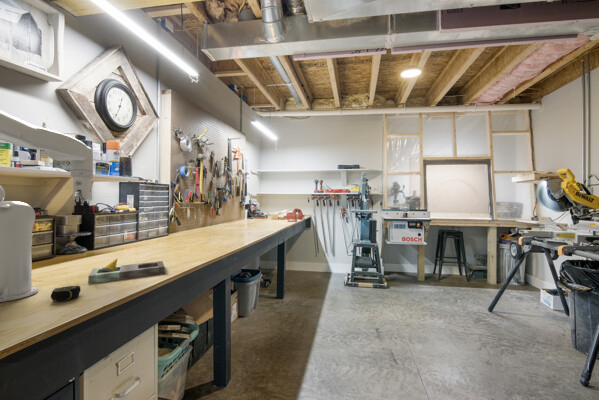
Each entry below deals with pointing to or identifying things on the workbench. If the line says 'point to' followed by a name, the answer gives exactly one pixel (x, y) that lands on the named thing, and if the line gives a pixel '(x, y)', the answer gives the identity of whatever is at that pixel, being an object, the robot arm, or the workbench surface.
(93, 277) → the block
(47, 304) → the workbench surface
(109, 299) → the workbench surface
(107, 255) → the workbench surface
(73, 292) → the tape measure
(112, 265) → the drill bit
